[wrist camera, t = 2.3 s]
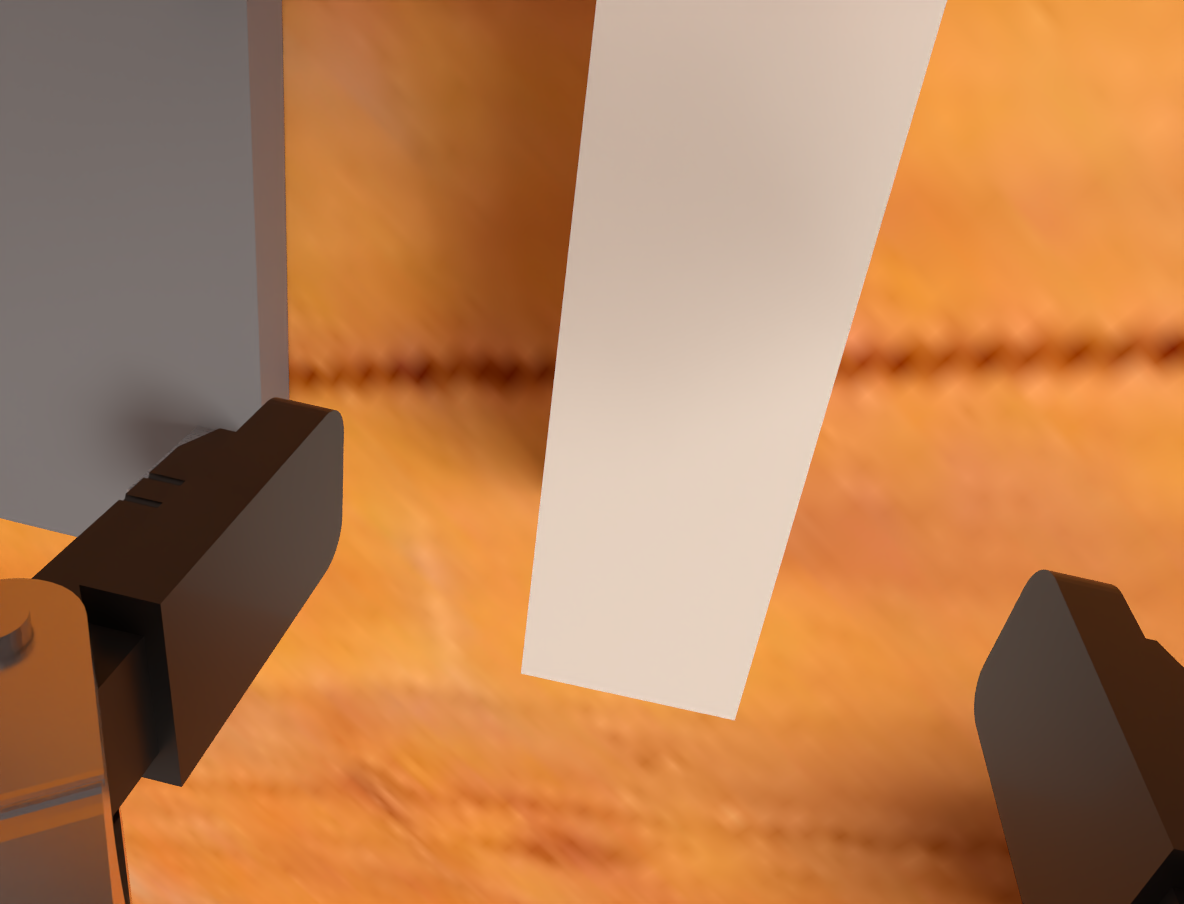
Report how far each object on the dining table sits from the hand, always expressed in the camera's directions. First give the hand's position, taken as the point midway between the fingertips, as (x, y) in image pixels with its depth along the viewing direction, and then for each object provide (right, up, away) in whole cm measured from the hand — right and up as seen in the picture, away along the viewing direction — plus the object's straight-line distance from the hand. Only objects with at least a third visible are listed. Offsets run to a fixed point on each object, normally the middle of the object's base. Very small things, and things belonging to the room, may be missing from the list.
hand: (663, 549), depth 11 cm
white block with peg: (+2, +6, +10) cm, 12 cm away
